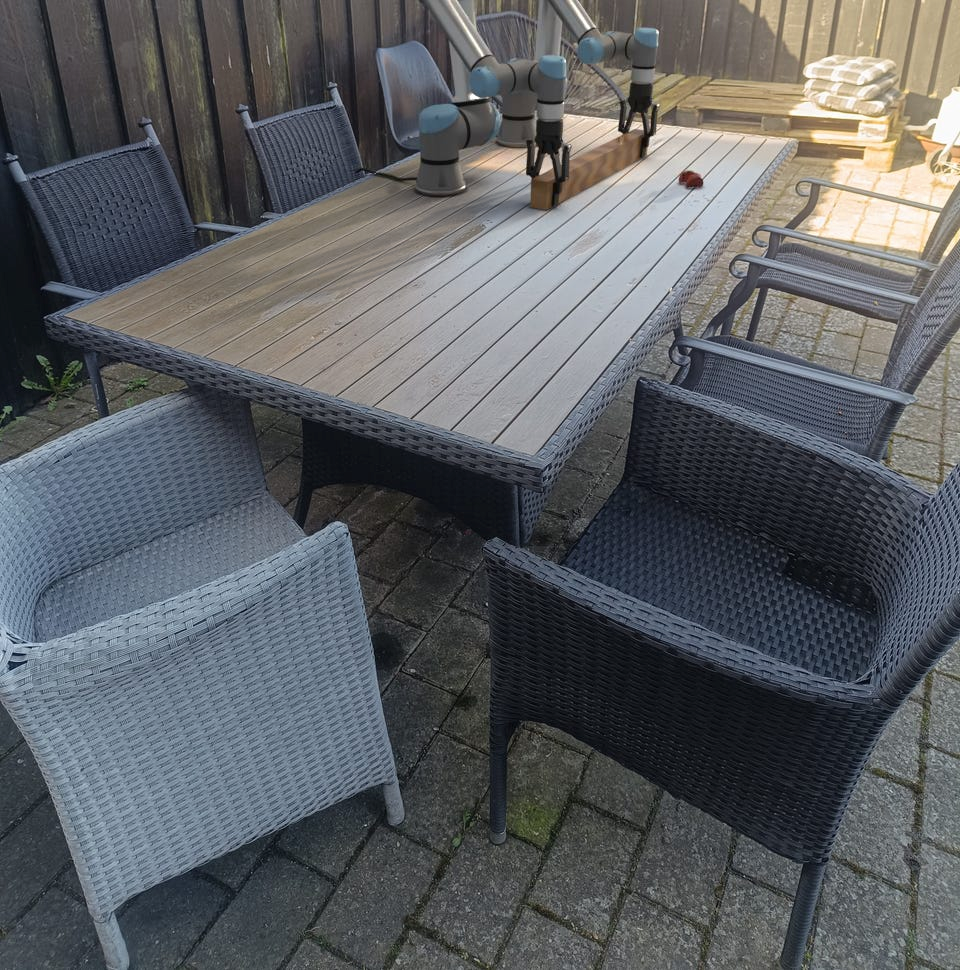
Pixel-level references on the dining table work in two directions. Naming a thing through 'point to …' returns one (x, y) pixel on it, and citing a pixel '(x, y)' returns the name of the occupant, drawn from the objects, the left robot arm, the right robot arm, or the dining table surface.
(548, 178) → the bar
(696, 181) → the dark red rounded lump
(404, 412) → the dining table surface
